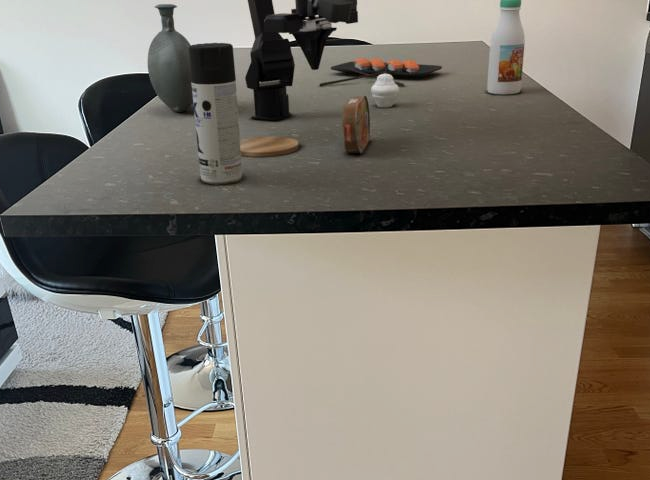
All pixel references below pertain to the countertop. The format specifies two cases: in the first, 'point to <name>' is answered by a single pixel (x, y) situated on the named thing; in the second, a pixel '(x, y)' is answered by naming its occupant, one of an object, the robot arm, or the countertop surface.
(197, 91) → the spray can
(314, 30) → the robot arm
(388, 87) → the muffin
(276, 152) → the wooden coaster
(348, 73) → the sushi plate
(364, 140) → the tin
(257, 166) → the countertop surface
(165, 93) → the flask
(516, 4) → the milk bottle
